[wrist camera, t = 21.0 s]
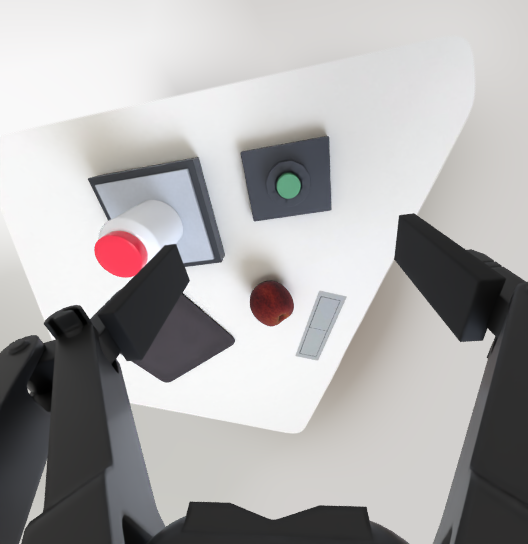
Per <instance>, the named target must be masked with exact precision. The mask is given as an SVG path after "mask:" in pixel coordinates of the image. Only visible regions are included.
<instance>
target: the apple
mask: <svg viewBox="0 0 528 544" xmlns="http://www.w3.org/2000/svg"><path fill="white" fill-rule="evenodd" d="M250 308H251V311H252V313H253V315H254V316H255V317H256V318H257V319H258V320H259V321H260V322H261V323H263V324H265V325H267V326H275V325H278V324H279V323H280V322H282V321H283V320H284V319H286V318H287V317H289V316H290V315H291V314H292V312H293V309H294V303H293V299H292V297H291V295H290V293H289V291H288V290H287V289H286V288H285V287H284V286H283V285H282V284H280V283H278V282H275V281H265V282H263V283H260V284H259V285H257V286H256V287H255V288H254V290H253V291H252V293H251V296H250Z"/></svg>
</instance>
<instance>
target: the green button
mask: <svg viewBox="0 0 528 544" xmlns="http://www.w3.org/2000/svg"><path fill="white" fill-rule="evenodd" d="M300 187H301V185H300V181H299V178H298V177H297V176H296V175H295V174H293V173H284V174H282V175H281V176H280V177H279V179H278V181H277V191H278V193H279V194H280V196H282V197H283V198H287V199H290V198H293V197H295V196H296V195H297V194H298V193H299V191H300Z"/></svg>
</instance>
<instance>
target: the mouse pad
mask: <svg viewBox="0 0 528 544" xmlns="http://www.w3.org/2000/svg"><path fill="white" fill-rule="evenodd" d="M234 342H235V340H234V338H233V337H232V336H231V335H230V334H229V333H228V332H227V331H225V330H224V329H223V328H222V327H221V326H220V325H218V324H217V323H216V322H215V321H214V320H212V319H211V318H210V317H209V316H208V315H207V314H205V313H204V312H203V311H202V310H201V309H200V308H198V307H197V306H196V305H195V304H194V303H193V302H191V301H190V300H189V299H188V298H187V297H185V296H184V295H183V294H181V296H180V298H179V299H178V301H177V303H176V304H175V306H174V308H173V309H172V311H171V313H170V314H169V316H168V318H167V319H166V321H165V323H164V324H163V326H162V328H161V329H160V331H159V333H158V335H157V336H156V338H155V340H154V341H153V343H152V345H151V346H150V348H149V350H148V351H147V353H146V355H145V356H144V358H143V360H137V361H132V362H134V363H135V364H137V365H138V366H140V367H141V368H143V369H144V370H146V371H147V372H149V373H150V374H152V375H153V376H155V377H156V378H158V379H159V380H161V381H163V382H171V381H173V380H175V379H176V378H178V377H180V376H181V375H183V374H185V373H186V372H188V371H190V370H191V369H193V368H195V367H197V366H198V365H200V364H202V363H203V362H205V361H207V360H208V359H210V358H212V357H213V356H215V355H217V354H218V353H220V352H222V351H223V350H225V349H227V348H228V347H230V346H232V345H233V344H234ZM120 354H122V353H121V352H120ZM122 355H123V354H122Z"/></svg>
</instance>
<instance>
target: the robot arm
mask: <svg viewBox="0 0 528 544" xmlns="http://www.w3.org/2000/svg"><path fill="white" fill-rule="evenodd" d="M394 260H395V261H396V262H397V263H398V265H399V266H400V267H401V268H402V270H403V271H404V272H405V273H406V275H407V276H408V277H409V278H410V279H411V281H412V282H413V283H414V285H415V286H416V287H417V288H418V290H419V291H420V292H421V293H422V295H423V296H424V297H425V298H426V300H427V301H428V302H429V303H430V305H431V306H432V307H433V308H434V310H435V311H436V312H437V313H438V315H439V316H440V317H441V318H442V320H443V321H444V322H445V323H446V325H447V326H448V327H449V328H450V330H451V331H452V332H453V333H454V335H455V336H456V337H457V338H458V340H459V341H460V342H466V341H482V340H483V339H484V336H485V333H486V331H487V328H488V329H489V330H490V331H491V332H492V333H493V334H494V335H495V339H494V341H493V344H492V346H491V348H490V351H489V353H488V356H487V358H488V361H487V365H486V368H485V371H484V375H483V378H482V382H481V385H480V389H479V392H478V396H477V399H476V403H475V406H474V409H473V413H472V416H471V420H470V423H469V427H468V430H467V434H466V437H465V441H464V444H463V448H462V451H461V455H460V458H459V462H458V465H457V468H456V472H455V476H454V479H453V482H452V486H451V489H450V493H449V496H448V500H447V503H446V506H445V510H444V513H443V517H442V520H441V523H440V526H439V529H438V531H437V534H436V537H435V540H434V542H433V544H528V282H526V281H524V280H522V279H521V278H520V277H518V276H517V275H515V274H513V273H512V272H511V271H509V270H508V269H506V268H504V267H502V266H501V265H500V264H498V263H497V262H494V260H492V259H491V258H489V257H488V256H486V255H485V254H482V253H480V252H477V251H474V250H465V249H464V248H462V247H461V246H460V245H458V244H457V243H455V242H454V241H452V240H451V239H450V238H448V237H447V236H445V235H444V234H442V233H441V232H440V231H438V230H437V229H435V228H434V227H433V226H431V225H430V224H428V223H427V222H425V221H424V220H423V219H421V218H420V217H418V216H417V215H416V214H406V215H399V222H398V231H397V240H396V249H395V258H394ZM189 281H190V280H189V277H188V275H187V272H186V269H185V267H184V264H183V261H182V258H181V256H180V253H179V250H178V248H177V245H176V244H171V245H164V247H163V248H162V249H161V250H160V251H159V252H158V253H157V254H156V255H155V256H154V257H153V258H152V259H151V260H150V261H149V262H148V263H147V264H146V265H145V266H144V267H143V268H142V269H141V270H140V271H139V272H138V273H137V274H136V275H135V276H134V277H133V278H132V279H131V280H130V281H129V282H128V283H127V284H126V285H125V287H124V288H122V289H121V290H119V291H118V292H117V293H116V294H115V295H114V296H113V297H112V298H111V299H110V300H109V301H108V302H107V303H106V304H105V305H104V306H103V307H102V308H101V309H100V310H99V311H98V312H97V313H96V314H95V315H94V316H93V317H92V318H91V319H89V318H88V316H87V315H86V313H85V312H84V310H83V309H82V307H81V306H79V305H74V306H69V307H66V308H63V309H61V310H59V311H57V312H55V313H54V314H52V315H51V316H50V317H48V318H47V319H46V320H45V322H44V325H45V326H46V327H47V329H48V330H49V331H50V332H51V334H52V335H53V336H54V337H55V339H56V340H53V341H49V342H46V343H43V342H42V341H41V340H40V339H39V337H38V336H36V335H31V336H28V337H24V338H22V339H18V340H16V341H15V342H13V343H11V344H10V345H9V346H8V347H6V348H5V349H4V350H3V351H2V352H1V353H0V544H19V541H20V539H21V536H22V533H23V530H24V527H25V524H26V521H27V518H28V515H29V512H30V509H31V506H32V503H33V499H34V497H35V494H36V491H37V487H38V485H39V482H40V479H41V476H42V473H43V470H44V466H45V464H46V461H47V473H46V487H45V501H44V510H43V513H42V514H40V515H39V516H38V517H36V518H35V519H33V520H32V521H31V522H30V523H29V524H28V526H27V527H26V529H25V531H24V535H23V539H22V543H21V544H409V543H408V542H406V541H405V540H404V539H402V538H401V537H399V536H398V535H397V534H395V533H394V532H392V531H391V530H389V529H387V528H385V527H383V526H381V525H379V524H377V523H374V522H372V521H369V516H368V512H367V507H354V506H317V507H314V508H311V509H307V510H304V511H302V512H298V513H296V514H292V515H289V516H286V517H283V518H280V519H276V520H271V519H268V518H265V517H263V516H260V515H258V514H256V513H253V512H251V511H248V510H246V509H243V508H241V507H238V506H236V505H234V504H231V503H219V502H190V503H189V507H188V511H187V515H186V516H185V517H183V518H180V519H178V520H176V521H175V522H173V523H171V524H169V525H168V526H166V527H165V525H164V523H163V521H162V519H161V517H160V515H159V513H158V510H157V507H156V504H155V500H154V496H153V492H152V489H151V485H150V481H149V477H148V473H147V469H146V465H145V461H144V457H143V453H142V449H141V446H140V442H139V438H138V434H137V430H136V426H135V422H134V418H133V414H132V411H131V406H130V403H129V399H128V395H127V391H126V387H125V383H124V379H123V375H122V371H121V367H120V364H119V362H118V361H117V359H116V358H117V357H118V355H119V354H120V352H121V353H122V354H123V356H124V358H125V359H126V361H137V360H143V358H144V356H145V355H146V353H147V351H148V350H149V348H150V346H151V345H152V343H153V341H154V340H155V338H156V336H157V335H158V333H159V331H160V329H161V328H162V326H163V324H164V323H165V321H166V319H167V318H168V316H169V314H170V313H171V311H172V309H173V308H174V306H175V304H176V303H177V301H178V299H179V298H180V296H181V294H182V293H183V291H184V289H185V288H186V286H187V284H188V283H189ZM27 388H28V389H29V390H30V391H31V393H30V394H29V393H28V390H27ZM47 458H48V459H47Z"/></svg>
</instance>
